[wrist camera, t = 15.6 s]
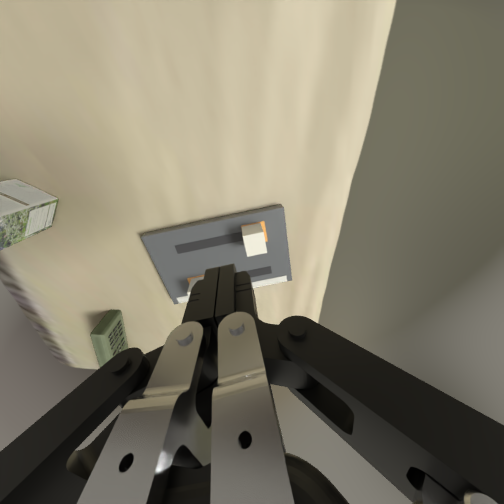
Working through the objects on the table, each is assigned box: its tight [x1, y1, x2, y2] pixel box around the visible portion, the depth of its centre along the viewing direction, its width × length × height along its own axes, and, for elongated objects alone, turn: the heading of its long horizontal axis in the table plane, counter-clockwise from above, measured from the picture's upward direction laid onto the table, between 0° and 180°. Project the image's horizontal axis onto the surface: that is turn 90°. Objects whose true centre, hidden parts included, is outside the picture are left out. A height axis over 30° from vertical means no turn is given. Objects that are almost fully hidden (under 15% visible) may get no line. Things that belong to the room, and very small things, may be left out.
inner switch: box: [242, 223, 267, 257], centre depth 32 cm, size 4×3×4 cm
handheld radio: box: [90, 310, 128, 367], centre depth 45 cm, size 7×3×25 cm
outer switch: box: [187, 276, 204, 296], centre depth 36 cm, size 4×3×4 cm
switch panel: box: [141, 204, 292, 304], centre depth 37 cm, size 15×24×2 cm, turn 101°
